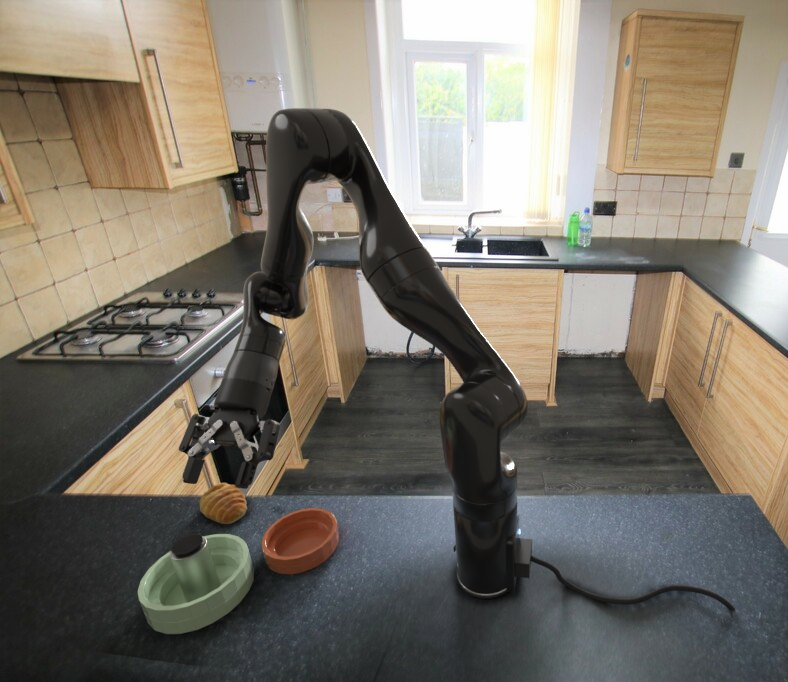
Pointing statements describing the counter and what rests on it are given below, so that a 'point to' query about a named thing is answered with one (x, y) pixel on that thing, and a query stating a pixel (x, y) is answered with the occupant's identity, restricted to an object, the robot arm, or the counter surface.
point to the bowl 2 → (300, 541)
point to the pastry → (223, 503)
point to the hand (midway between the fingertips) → (215, 485)
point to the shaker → (194, 567)
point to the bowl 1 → (180, 616)
